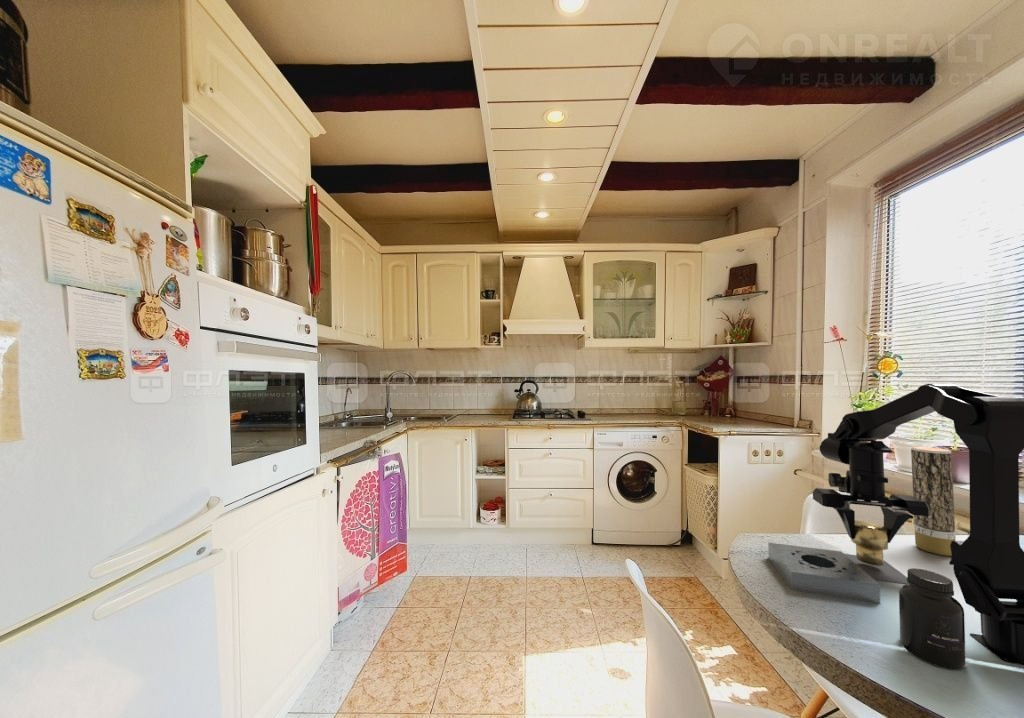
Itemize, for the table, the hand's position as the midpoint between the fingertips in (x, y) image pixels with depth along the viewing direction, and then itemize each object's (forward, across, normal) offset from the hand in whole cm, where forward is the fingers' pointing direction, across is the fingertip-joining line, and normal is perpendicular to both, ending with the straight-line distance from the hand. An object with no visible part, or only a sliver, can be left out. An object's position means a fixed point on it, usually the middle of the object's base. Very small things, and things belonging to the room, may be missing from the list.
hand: (869, 540), depth 84 cm
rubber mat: (+6, 0, 0) cm, 7 cm away
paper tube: (+7, -21, -17) cm, 28 cm away
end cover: (+4, 0, 0) cm, 5 cm away
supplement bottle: (+7, +6, +29) cm, 30 cm away
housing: (+6, +13, +9) cm, 17 cm away
